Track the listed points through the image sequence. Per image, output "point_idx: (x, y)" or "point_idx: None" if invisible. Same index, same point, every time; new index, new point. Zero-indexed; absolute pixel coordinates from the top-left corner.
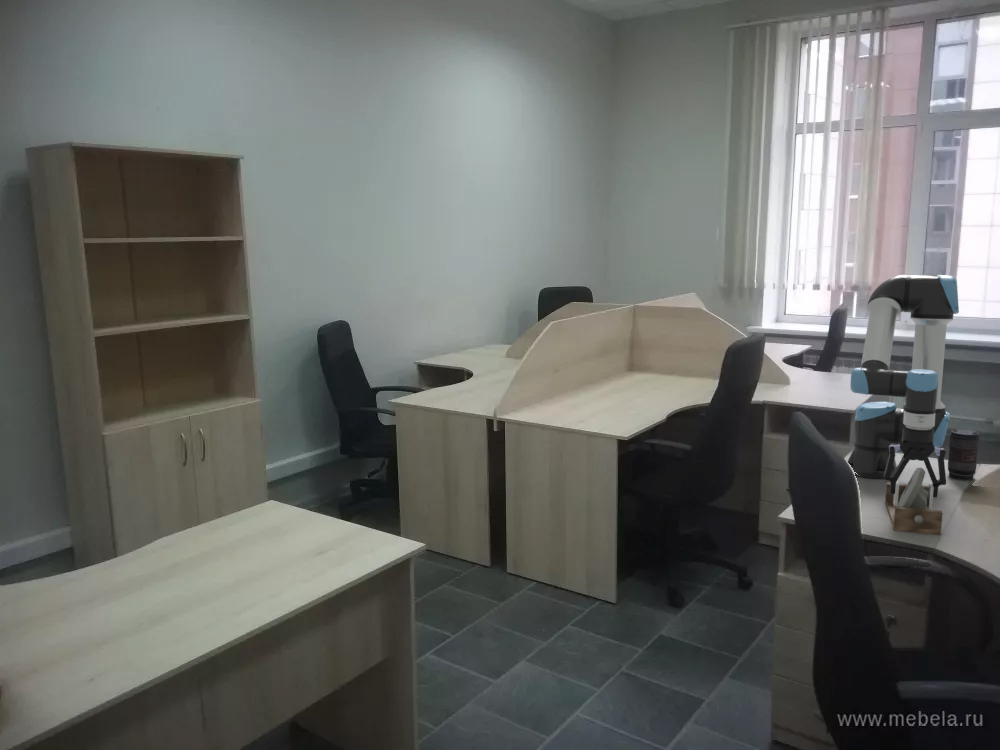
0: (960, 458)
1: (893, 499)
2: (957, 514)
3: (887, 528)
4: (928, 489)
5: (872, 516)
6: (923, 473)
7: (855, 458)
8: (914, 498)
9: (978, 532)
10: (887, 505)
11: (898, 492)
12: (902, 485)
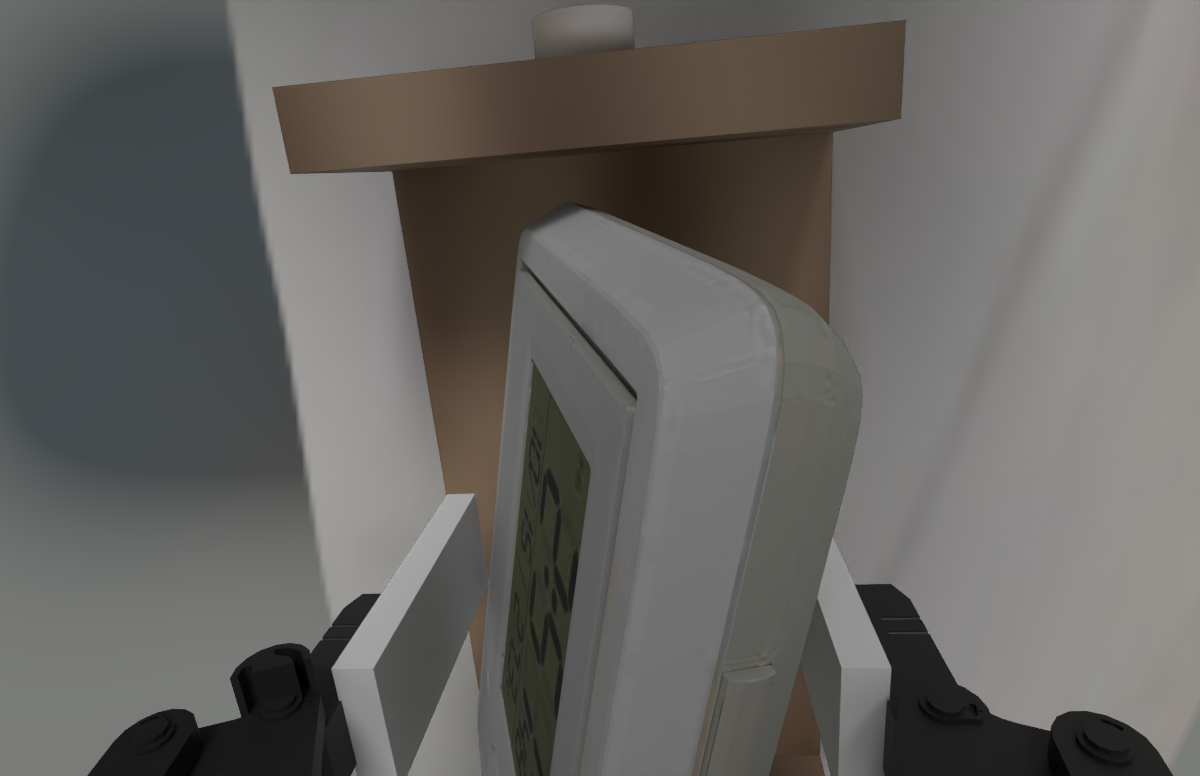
0: None
1: (458, 164)
2: (1093, 224)
3: (459, 733)
4: (871, 121)
5: (337, 534)
6: (781, 675)
7: None
8: None
9: (1128, 640)
10: (418, 318)
11: (441, 692)
12: (497, 151)
